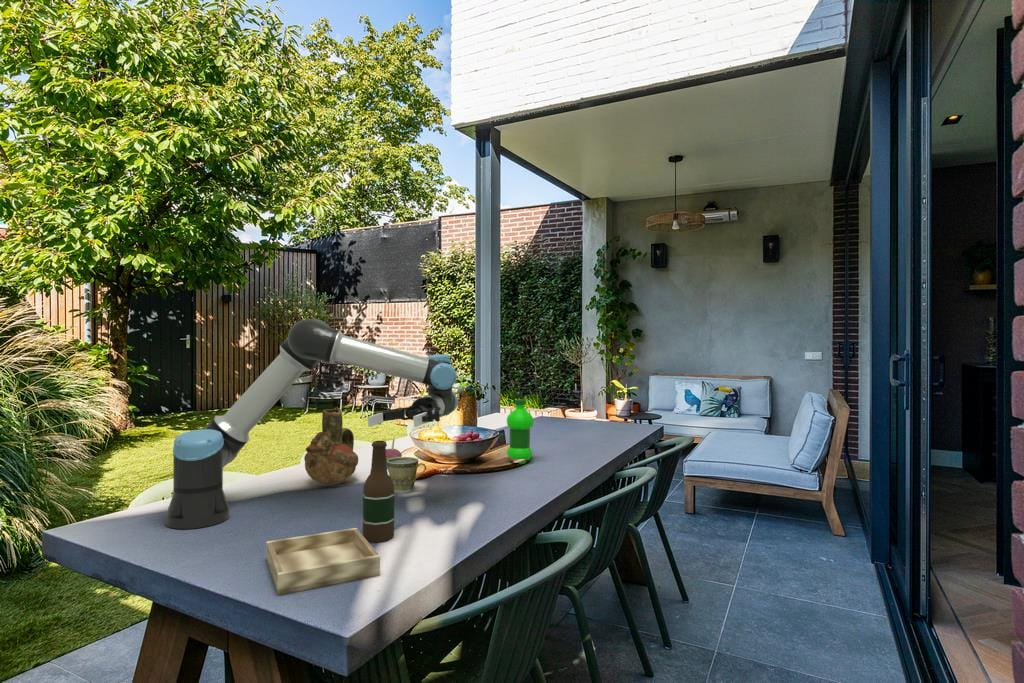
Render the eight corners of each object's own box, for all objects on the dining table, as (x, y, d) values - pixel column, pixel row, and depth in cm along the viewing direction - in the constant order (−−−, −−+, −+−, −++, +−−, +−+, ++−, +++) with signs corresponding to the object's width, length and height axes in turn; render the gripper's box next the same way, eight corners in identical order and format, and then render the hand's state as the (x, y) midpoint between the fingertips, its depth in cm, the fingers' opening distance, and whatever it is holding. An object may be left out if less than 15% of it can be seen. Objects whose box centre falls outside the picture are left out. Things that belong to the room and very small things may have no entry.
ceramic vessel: (284, 492, 181) (285, 414, 181) (325, 473, 206) (326, 404, 206) (335, 496, 178) (335, 416, 178) (370, 476, 203) (370, 405, 203)
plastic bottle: (537, 463, 226) (538, 400, 226) (514, 466, 220) (515, 402, 220) (523, 458, 235) (524, 398, 234) (501, 461, 229) (502, 399, 229)
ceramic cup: (381, 493, 181) (381, 462, 181) (395, 485, 191) (395, 455, 191) (419, 497, 178) (419, 465, 178) (431, 488, 188) (431, 458, 188)
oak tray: (278, 595, 111) (278, 574, 111) (266, 559, 128) (266, 541, 128) (379, 575, 120) (380, 556, 120) (356, 544, 138) (356, 527, 138)
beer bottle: (396, 532, 146) (397, 438, 146) (391, 543, 139) (392, 444, 138) (366, 532, 146) (366, 438, 146) (358, 543, 138) (359, 444, 138)
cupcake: (406, 467, 218) (406, 435, 218) (390, 471, 211) (390, 438, 211) (389, 464, 222) (390, 433, 222) (373, 468, 215) (373, 436, 215)
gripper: (466, 421, 168) (435, 435, 147) (391, 421, 175) (351, 435, 155) (465, 395, 167) (433, 406, 147) (389, 397, 175) (349, 408, 155)
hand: (391, 421), depth 151 cm, fingers open, 13 cm apart
